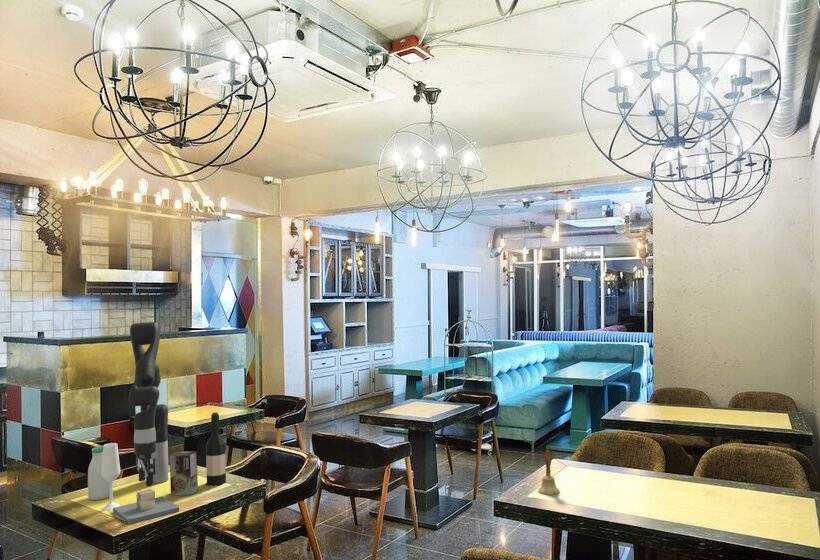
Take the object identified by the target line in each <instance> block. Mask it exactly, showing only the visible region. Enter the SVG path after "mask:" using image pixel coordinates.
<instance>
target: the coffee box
mask: <svg viewBox="0 0 820 560" xmlns="http://www.w3.org/2000/svg"><path fill="white" fill-rule="evenodd" d="M169 473H170V474H169V475H170V477H169V478H170V496H188V495H189V496H191V495H193V494H195V493H196V492H198V491H199V482H198V481H199V480H198V452H197V451H193V450H191V451H175V452H173V453H172V454H170V455H169Z"/></svg>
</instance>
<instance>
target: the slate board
mask: <svg viewBox="0 0 820 560" xmlns="http://www.w3.org/2000/svg"><path fill="white" fill-rule="evenodd" d="M177 511H178V512H180V506H178V505H176V504H174V503H173V502H172V501H170V500H169V499H166V498H165V497H164V496H158V497H155V508H151V509H147V510H143V511H141V510H139V509H138V508H137V501H136V502H132V503H128V504H124V505H121V506H119V507H115V508H113V510H112V513H113V514H115V515H116V516H117V515H118V516H117V517H119V518H120V519H121V520H122V519H123V520H122V521H123V522H125V523H126V524H127V523H128V524H127V525H131V524H135V523H138V522H142V521H147V520H151V519H155V518H160V517H162V516H165V515H170V514H173V513H177Z"/></svg>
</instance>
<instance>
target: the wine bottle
mask: <svg viewBox="0 0 820 560" xmlns="http://www.w3.org/2000/svg"><path fill="white" fill-rule="evenodd" d="M218 412H219V411H217V412H215V411H214V412H212V414H210V420H211V422H210V423H211V424H210V425H211V426H210V427H211V428H210V429H211V431H210V432H211V435H210V436H209V438H208V439H207V442H206V443H205V456H206V457H205V458H206V460H205V461H206V464H205V465H206V468H205V469H206V485H207V486H209V485H212V486H211V487H214V486H215V485H217V486H222V485H224V484H226V483H227V474H226V473H227V468H226V466H227V465H226V464H227V463H226V461H227V459H226V442H225V440H224V439H223V437H222V435H221V433H220V414H219V413H218ZM221 484H222V485H221ZM215 487H216V486H215Z"/></svg>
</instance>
